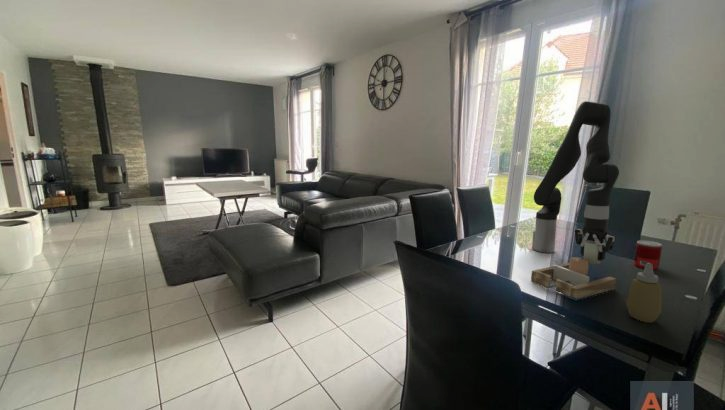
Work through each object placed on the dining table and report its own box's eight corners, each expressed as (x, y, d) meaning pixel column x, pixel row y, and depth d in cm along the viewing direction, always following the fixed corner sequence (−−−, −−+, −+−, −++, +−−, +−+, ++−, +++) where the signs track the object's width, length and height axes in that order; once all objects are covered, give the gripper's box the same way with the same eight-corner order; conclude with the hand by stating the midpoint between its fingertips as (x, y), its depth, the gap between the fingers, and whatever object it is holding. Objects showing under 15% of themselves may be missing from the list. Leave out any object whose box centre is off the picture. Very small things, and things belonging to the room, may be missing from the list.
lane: (531, 281, 121) (531, 269, 120) (567, 272, 128) (568, 261, 127) (575, 301, 105) (577, 288, 104) (614, 289, 112) (616, 277, 111)
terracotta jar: (564, 282, 119) (566, 258, 118) (574, 279, 121) (576, 256, 120) (579, 288, 114) (581, 263, 112) (589, 285, 116) (592, 261, 114)
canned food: (663, 270, 126) (667, 246, 124) (641, 269, 128) (644, 245, 126) (650, 264, 134) (653, 240, 132) (629, 263, 135) (632, 240, 133)
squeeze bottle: (617, 312, 97) (624, 259, 94) (640, 310, 98) (648, 258, 95) (642, 326, 89) (651, 269, 86) (667, 324, 90) (676, 268, 87)
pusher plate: (530, 284, 118) (532, 270, 117) (554, 278, 122) (556, 264, 121) (562, 299, 106) (564, 283, 105) (588, 292, 110) (589, 276, 109)
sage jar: (579, 260, 120) (581, 239, 118) (589, 258, 122) (590, 237, 120) (594, 265, 115) (596, 243, 113) (604, 262, 117) (606, 240, 115)
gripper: (623, 218, 110) (618, 262, 113) (583, 212, 123) (579, 251, 126) (610, 221, 107) (605, 265, 110) (570, 214, 120) (567, 254, 123)
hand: (592, 257), depth 118 cm, fingers closed on sage jar, 5 cm apart
